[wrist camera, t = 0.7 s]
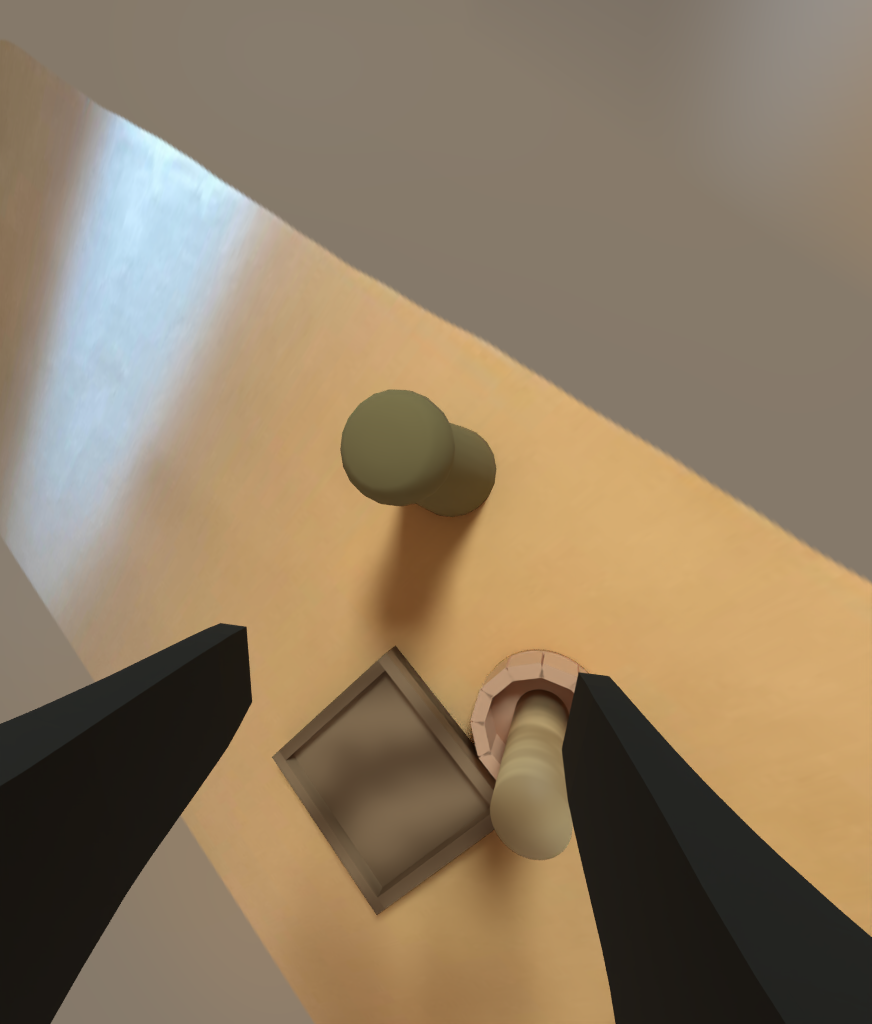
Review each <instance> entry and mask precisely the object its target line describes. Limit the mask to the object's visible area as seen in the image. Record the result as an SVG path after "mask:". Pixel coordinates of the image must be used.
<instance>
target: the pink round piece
mask: <svg viewBox="0 0 872 1024" xmlns="http://www.w3.org/2000/svg"><path fill="white" fill-rule="evenodd" d="M579 672H581V673H588V672H587V671H586V670H585V669H584V668H583V667H582V666H580V665H579V664H578V663H576V662H575V661H573V660H572V659H570V658H568V657H566V656H564V655H561V654H559V653H555V652H552V651H547V650H526V651H521V652H518V653H515V654H513V655H511V656H509V657H507V658H505V659H504V660H503V661H501V662H500V663H499V664H498V665H497V666H496V667H495V668H494V669H493V670H492V671H491V672H490V673H489V674H488V675H487V677H486V679H485V681H484V683H483V685H482V687H481V689H480V691H479V694H478V698H477V701H476V704H475V707H474V711H473V714H472V717H471V722H470V723H471V727H472V732H473V737H474V741H475V746H476V750H477V755H478V756H479V759H480V760H481V762H482V763H483V764H484V765H485V767H486V768H487V769H488V771H489V772H490V773H491V774H492V776H493V777H494V778H495V779H496V780H497V776H498V772H499V769H500V765H501V761H502V757H503V753H504V750H505V746H506V742H507V738H508V734H509V730H510V727H511V723H512V719H513V715H514V711H515V708H516V704H517V702H518V700H519V698H520V697H521V696H522V695H523V694H525V693H526V692H528V691H531V690H535V689H543V690H547V691H550V692H552V693H554V694H555V695H557V696H558V697H559V698H560V699H561V700H562V701H563V702H564V704H565V705H566V707H567V709H568V712H569V713H570V709H571V704H572V700H573V695H574V691H575V686H576V682H577V677H578V673H579ZM588 674H589V673H588Z"/></svg>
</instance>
